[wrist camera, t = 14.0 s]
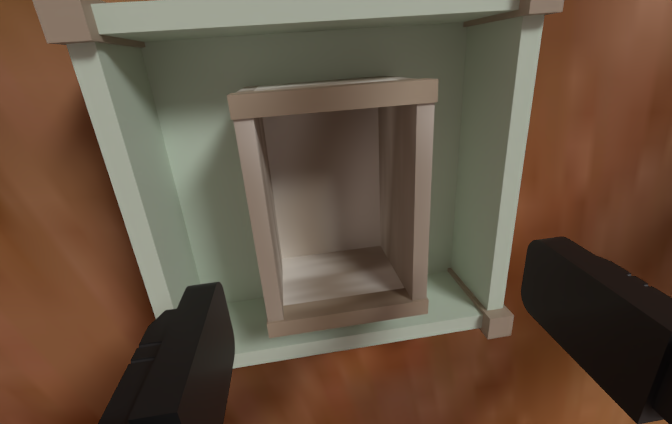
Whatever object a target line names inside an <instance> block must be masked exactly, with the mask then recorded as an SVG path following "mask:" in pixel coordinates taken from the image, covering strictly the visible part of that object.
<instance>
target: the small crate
mask: <svg viewBox="0 0 672 424" xmlns="http://www.w3.org/2000/svg"><path fill="white" fill-rule="evenodd" d="M438 81H439V79H433V78H419V79H414V78H405V77H395V76H376V77H363V78H350V79H337V80H323V81H310V82H297V83H284V84H270V85H257V86H245V87H243V88H242V89H240V90H239V91H237V92H236V93H230V94H228V95H227V100H228V106H229V111H230V117H231V120H233V122H234V128H235V134H236V139H237V145H238V151H239V157H240V163H241V168H242V174H243V180H244V186H245V192H246V197H247V203H248V209H249V215H250V221H251V226H252V232H253V238H254V244H255V250H256V256H257V261H258V267H259V273H260V279H261V285H262V290H263V296H264V302H265V308H266V314H267V329H268V335H269V338H275V337H282V336H288V335H295V334H301V333H307V332H314V331H320V330H327V329H333V328H340V327H346V326H353V325H359V324H366V323H372V322H378V321H385V320H391V319H398V318H404V317H411V316H417V315H424V314H428V304H429V300H428V298H427V276H428V252H429V228H430V204H431V180H432V157H433V133H434V109H435V102H438Z"/></svg>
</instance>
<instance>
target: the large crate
mask: <svg viewBox="0 0 672 424" xmlns="http://www.w3.org/2000/svg"><path fill="white" fill-rule="evenodd" d="M32 1H33V3H34V6H35V9H36V12H37V15H38V18H39V21H40V24H41V27H42V30H43V32H44V35H45V38H46V41H47V43H51V44H62V45H67V48H68V51H69V54H70V57H71V60H72V63H73V66H74V70H75V73H76V76H77V79H78V82H79V85H80V88H81V91H82V94H83V97H84V100H85V103H86V106H87V109H88V112H89V116H90V119H91V122H92V125H93V128H94V131H95V134H96V137H97V140H98V143H99V146H100V149H101V152H102V155H103V158H104V162H105V165H106V168H107V171H108V174H109V177H110V180H111V183H112V186H113V189H114V192H115V195H116V198H117V201H118V204H119V207H120V211H121V214H122V217H123V220H124V223H125V226H126V229H127V232H128V235H129V238H130V241H131V244H132V247H133V250H134V253H135V257H136V260H137V263H138V266H139V269H140V272H141V275H142V278H143V281H144V284H145V287H146V290H147V293H148V296H149V299H150V303H151V306H152V309H153V312H154V315H155V318H156V319H157V318H158V317H159V316H160V315H161V314H162V313H163V312H164V311H165V310H170V309H177V307H178V305H179V302H180V300H181V298H182V296H183V293H184V291H185V289H186V287H187V286H191V285H198V284H206V283H213V282H220V283H221V284H222V286H223V289H224V294H225V298H226V302H227V306H228V310H229V315H230V319H231V323H232V327H233V332H234V339H235V357H234V363H233V368H239V367H245V366H251V365H257V364H263V363H269V362H275V361H282V360H288V359H294V358H300V357H306V356H312V355H318V354H324V353H330V352H336V351H342V350H349V349H355V348H361V347H367V346H373V345H379V344H385V343H391V342H397V341H403V340H409V339H415V338H422V337H428V336H434V335H440V334H446V333H452V332H458V331H464V330H470V329H476V328H479V329H480V330H481V331H482V332H483V334H484V335H485V336H486V338H487V339H493V338H499V337H504V336H510V335H511V332H512V326H513V319H514V315H513V314H512V313H511V312H510V311H509V309H508V308H507V307H506V306H505V305H504V297H505V290H506V282H507V275H508V268H509V261H510V254H511V247H512V240H513V233H514V226H515V219H516V212H517V205H518V198H519V191H520V184H521V177H522V170H523V163H524V156H525V149H526V142H527V134H528V127H529V120H530V113H531V106H532V99H533V92H534V85H535V78H536V71H537V64H538V57H539V50H540V43H541V36H542V29H543V22H544V15H548V14H553V13H559V12H562V10H563V4H564V0H158V1H138V2H118V3H106V2H103V1H101V0H32ZM376 76H395V77H405V78H414V79H419V78H433V79H439V81H438V102H435V109H434V133H433V157H432V180H431V204H430V228H429V252H428V276H427V298H428V300H429V304H428V314H424V315H417V316H411V317H404V318H398V319H391V320H385V321H378V322H372V323H366V324H359V325H353V326H346V327H340V328H333V329H327V330H320V331H314V332H307V333H301V334H295V335H288V336H282V337H275V338H269V335H268V329H267V314H266V308H265V302H264V296H263V290H262V285H261V279H260V273H259V267H258V261H257V256H256V250H255V244H254V238H253V232H252V226H251V221H250V215H249V209H248V203H247V197H246V192H245V186H244V180H243V174H242V168H241V163H240V157H239V151H238V145H237V139H236V134H235V128H234V122H233V120H231V117H230V111H229V106H228V100H227V95H228V94H230V93H236V92H237V91H239V90H240V89H242V88H243V87H245V86H257V85H270V84H284V83H297V82H310V81H323V80H337V79H350V78H363V77H376Z"/></svg>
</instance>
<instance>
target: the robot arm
mask: <svg viewBox="0 0 672 424" xmlns="http://www.w3.org/2000/svg"><path fill="white" fill-rule="evenodd" d="M521 296H522V301H523V304H524V306H525V308H526V310H527V311H528V313H529V314H530V315H531V316H532V317H533V318H534V319H535V320H536V321H537V322H538V323H539V324H540V325H541V326H542V327H543V328H544V329H545V330H546V331H547V332H548V333H549V334H550V335H551V336H552V337H553V338H554V339H555V340H556V342H557V343H558V344H559V345H560V346H561V347H562V348H563V349H564V350H565V351H566V352H567V353H568V354H569V355H570V356H571V357H572V358H573V359H574V360H575V361H576V362H577V363H578V364H579V365H580V366H581V367H582V368H583V369H584V370H585V371H586V372H587V373H588V374H589V375H590V376H591V377H592V378H593V379H594V380H595V381H596V383H597V384H598V385H599V386H600V387H601V388H602V389H603V390H604V391H605V392H606V393H607V394H608V395H609V396H610V397H611V398H612V399H613V400H614V401H615V402H616V403H617V404H618V405H619V406H620V407H621V408H622V409H623V410H624V411H625V412H626V413H627V414H628V415H629V416H630V417H631V418H632V419H633V420H634V421H635V422H636V423H637V424H642V423H648V422H653V421H658V420H663V419H664V420H665V421H667V422H668V423H669V424H672V298H671V297H669V296H667V295H666V294H664V293H662V292H661V291H659V290H657V289H656V288H654V287H652V286H651V287H649V286H648V283H646V282H644V281H643V280H641V279H639V278H638V277H636V276H631V273H629V272H628V271H626V270H625V269H623V268H621V267H620V266H618V265H616V264H615V263H613V262H611V261H609V260H606V259H604V258H601V257H598V256H596V255H594V254H592V253H591V252H589V251H587V250H586V249H584V248H583V247H581V246H579V245H578V244H576V243H575V242H573V241H571V240H570V239H568V238H566V237H555V238H547V239H540V240H534V241H532V242H531V243H530V244H529V246H528V249H527V255H526V262H525V268H524V274H523V281H522V287H521ZM234 357H235V339H234V332H233V327H232V323H231V319H230V315H229V310H228V306H227V302H226V298H225V294H224V289H223V286H222V284H221V283H220V282H213V283H206V284H198V285H191V286H187V287H186V289H185V291H184V293H183V296H182V298H181V300H180V302H179V305H178V307H177V309H170V310H165V311H164V312H163V313H162V314H161V315H160V316H159V317H158V318H157V319H156V320H155V321H154V322H152V323H151V324H150V325H149V326H148V328H147V330H146V332H145V334H144V336H143V338H142V340H141V342H140V344H139V348H137V349H136V351H135V353H134V355H133V357H132V359H131V364H129V365H128V367H127V369H126V371H125V373H124V375H123V376H122V378H121V380H120V382H119V384H118V386H117V388H116V390H115V392H114V394H113V396H112V398H111V400H110V402H109V404H108V405H107V407H106V409H105V411H104V413H103V415H102V417H101V419H100V421H99V423H98V424H223V422H224V416H225V410H226V404H227V398H228V392H229V386H230V381H231V375H232V369H233V363H234Z"/></svg>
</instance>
